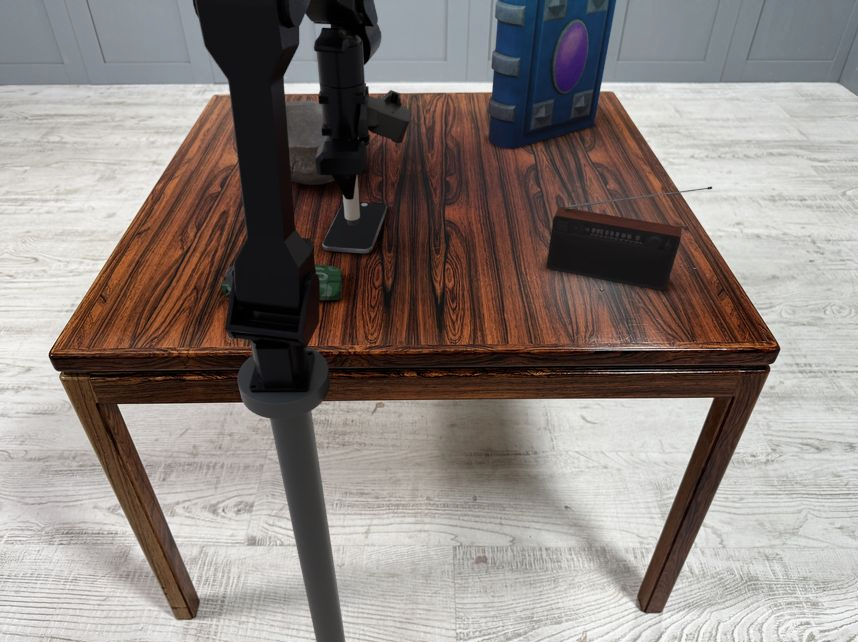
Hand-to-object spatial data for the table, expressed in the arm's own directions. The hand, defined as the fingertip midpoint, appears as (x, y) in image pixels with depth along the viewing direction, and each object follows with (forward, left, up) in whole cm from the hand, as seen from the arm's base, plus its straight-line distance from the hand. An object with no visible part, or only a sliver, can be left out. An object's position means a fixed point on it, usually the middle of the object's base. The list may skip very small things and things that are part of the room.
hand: (350, 194), depth 92 cm
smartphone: (+6, 0, -9) cm, 11 cm away
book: (+44, -35, -9) cm, 57 cm away
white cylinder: (0, 0, -4) cm, 5 cm away
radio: (-8, -37, -9) cm, 39 cm away
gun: (-9, +9, -9) cm, 16 cm away
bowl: (+25, +9, -9) cm, 28 cm away
